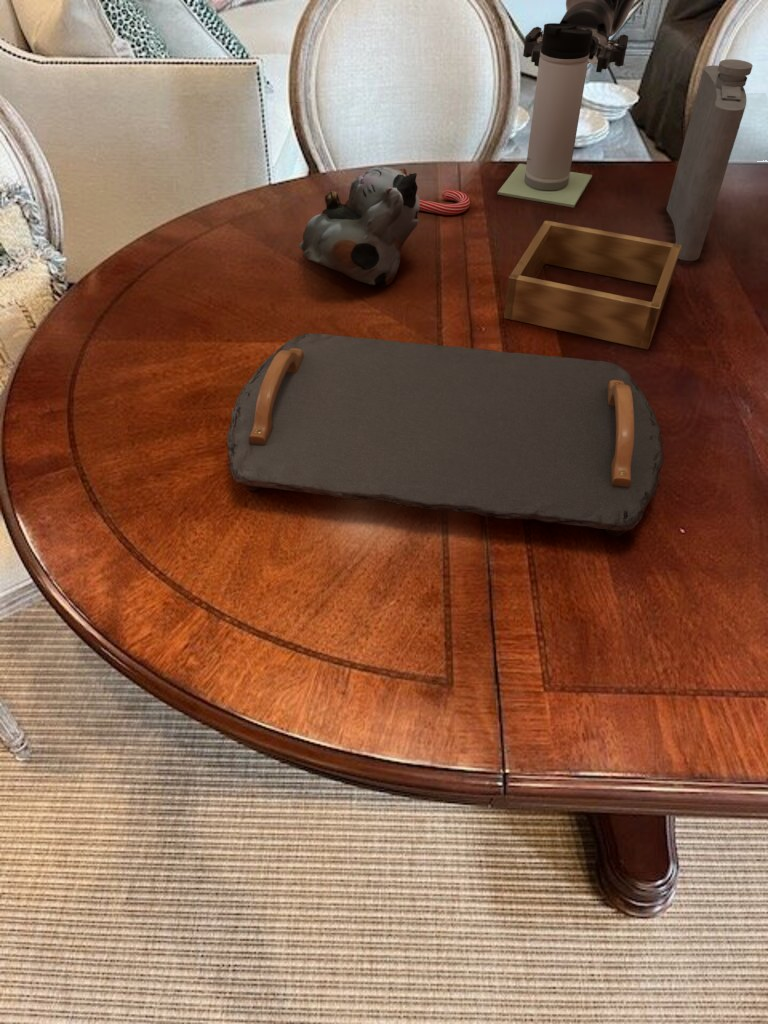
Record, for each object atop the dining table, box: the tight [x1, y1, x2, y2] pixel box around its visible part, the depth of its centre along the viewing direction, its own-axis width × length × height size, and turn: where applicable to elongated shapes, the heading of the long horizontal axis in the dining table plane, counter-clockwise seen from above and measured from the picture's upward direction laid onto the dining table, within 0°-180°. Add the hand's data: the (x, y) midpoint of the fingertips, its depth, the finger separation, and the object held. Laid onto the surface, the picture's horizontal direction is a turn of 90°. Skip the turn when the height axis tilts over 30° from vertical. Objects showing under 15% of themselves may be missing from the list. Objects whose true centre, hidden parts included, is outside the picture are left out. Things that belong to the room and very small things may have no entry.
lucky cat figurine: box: [298, 166, 421, 288], centre depth 92 cm, size 15×12×14 cm
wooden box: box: [503, 220, 682, 350], centre depth 88 cm, size 16×15×5 cm
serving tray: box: [226, 332, 665, 538], centre depth 70 cm, size 39×23×6 cm, turn 80°
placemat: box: [496, 163, 593, 208], centre depth 112 cm, size 11×11×1 cm
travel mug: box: [524, 22, 593, 191], centre depth 105 cm, size 6×7×20 cm
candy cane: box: [419, 189, 471, 216], centre depth 108 cm, size 6×15×2 cm, turn 68°
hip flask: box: [666, 58, 754, 262], centre depth 95 cm, size 16×4×20 cm, turn 169°
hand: (568, 61), depth 107 cm, fingers open, 8 cm apart
